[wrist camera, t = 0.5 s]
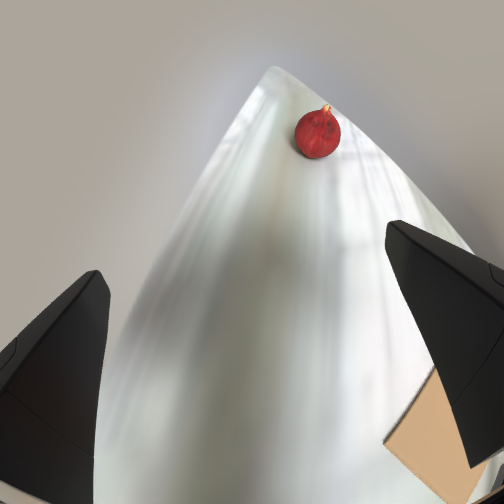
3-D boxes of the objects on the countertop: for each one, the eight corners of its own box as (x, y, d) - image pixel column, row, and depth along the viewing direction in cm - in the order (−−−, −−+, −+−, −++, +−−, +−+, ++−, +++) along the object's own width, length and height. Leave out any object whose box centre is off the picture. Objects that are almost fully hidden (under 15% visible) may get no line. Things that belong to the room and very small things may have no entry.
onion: (334, 173, 39) (357, 122, 33) (292, 167, 38) (311, 112, 32) (323, 148, 43) (342, 100, 36) (285, 142, 42) (300, 91, 35)
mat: (457, 512, 15) (460, 512, 15) (383, 444, 19) (386, 444, 19) (504, 417, 21) (507, 416, 21) (445, 349, 26) (447, 348, 25)
